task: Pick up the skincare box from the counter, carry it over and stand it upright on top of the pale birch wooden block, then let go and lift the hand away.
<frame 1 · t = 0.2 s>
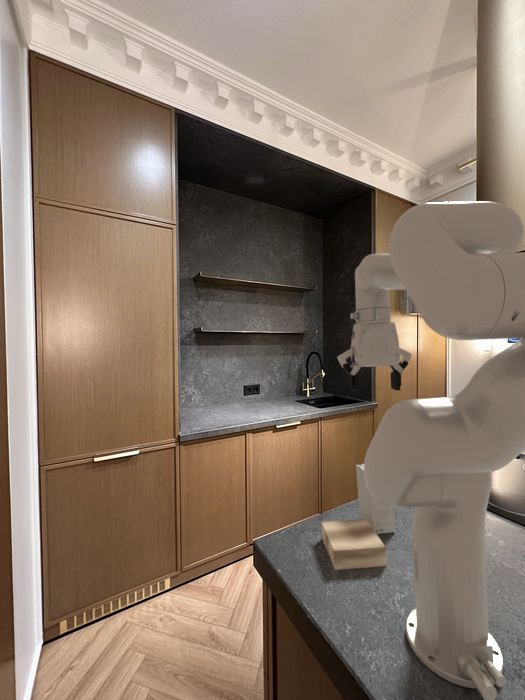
hand: (375, 390, 73), 36 cm above the counter, tool pointing down, fingers open, 9 cm apart
skincare box: (375, 525, 81), on the counter
birch block: (351, 551, 71), on the counter
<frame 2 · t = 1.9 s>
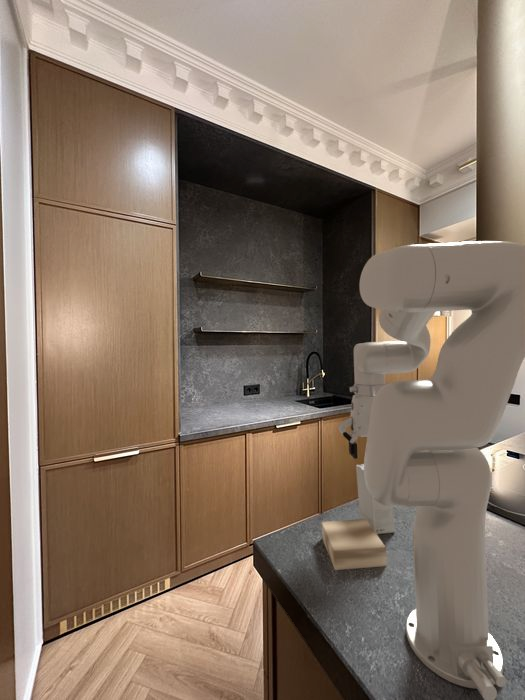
hand: (372, 455, 81), 18 cm above the counter, tool pointing down, fingers open, 9 cm apart
nothing on the counter moved.
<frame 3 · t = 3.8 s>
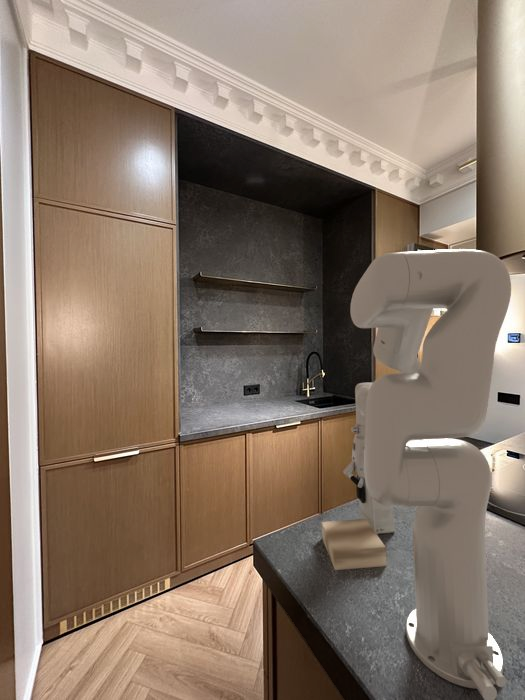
hand: (374, 499, 81), 7 cm above the counter, tool pointing down, fingers closed on skincare box, 6 cm apart
skincare box: (375, 525, 81), on the counter, touching gripper
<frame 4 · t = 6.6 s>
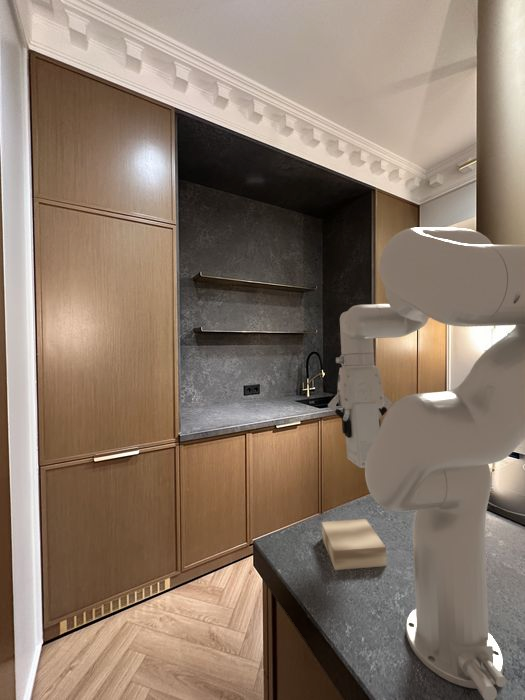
hand: (361, 434, 76), 25 cm above the counter, tool pointing down, fingers closed on skincare box, 6 cm apart
skincare box: (363, 463, 75), point 18 cm above the counter, touching gripper
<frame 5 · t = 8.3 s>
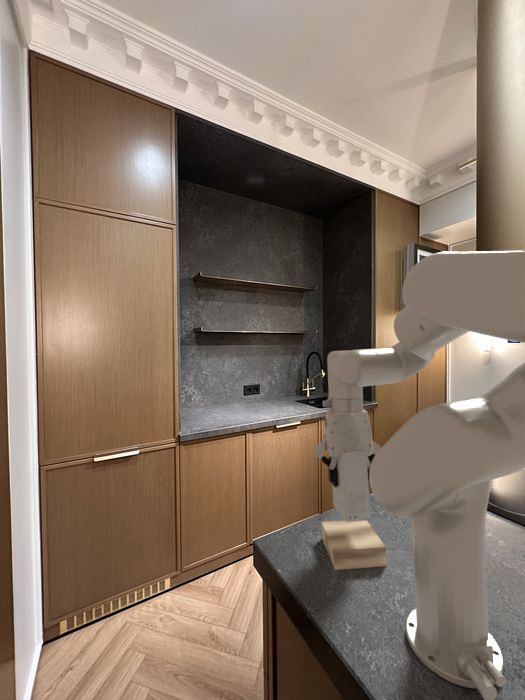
hand: (349, 483, 71), 15 cm above the counter, tool pointing down, fingers closed on skincare box, 6 cm apart
skincare box: (350, 513, 71), point 9 cm above the counter, touching gripper
when the fingers open (12 cm above the counter, at t = 9.4 s): skincare box drops 1 cm, resting on birch block.
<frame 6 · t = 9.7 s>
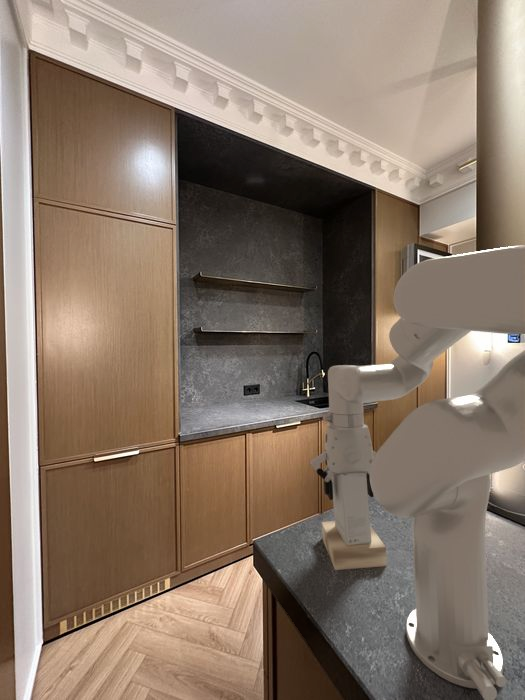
hand: (349, 495, 71), 13 cm above the counter, tool pointing down, fingers open, 8 cm apart
skincare box: (351, 534, 71), point 4 cm above the counter, touching birch block
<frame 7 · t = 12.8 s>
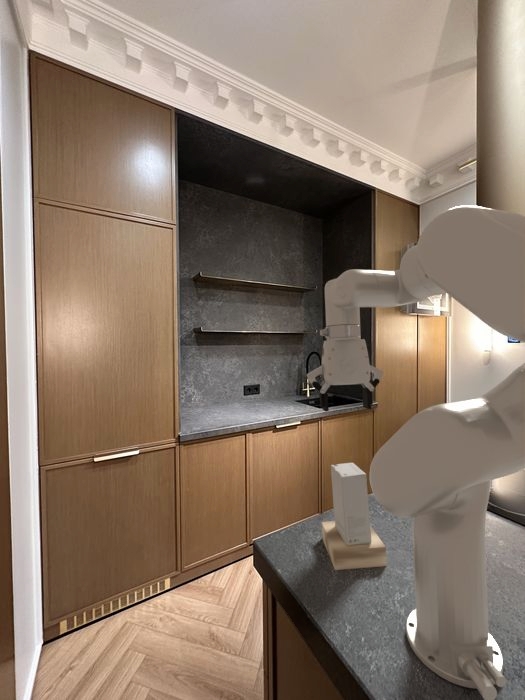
hand: (346, 409, 71), 32 cm above the counter, tool pointing down, fingers open, 9 cm apart
nothing on the counter moved.
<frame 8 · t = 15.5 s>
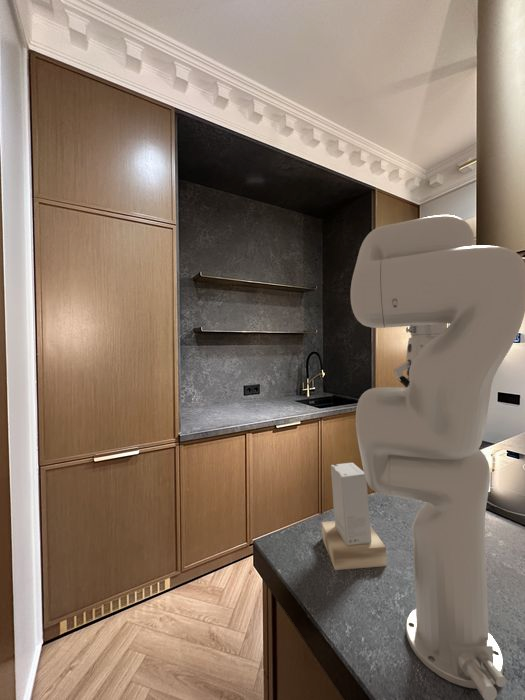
hand: (431, 402, 74), 32 cm above the counter, tool pointing down, fingers open, 9 cm apart
nothing on the counter moved.
at the end: skincare box inside the target area on the birch block (0.2 cm from its centre), point 3.8 cm above the birch block's base; skincare box tilted 0°; the gripper is holding nothing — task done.
